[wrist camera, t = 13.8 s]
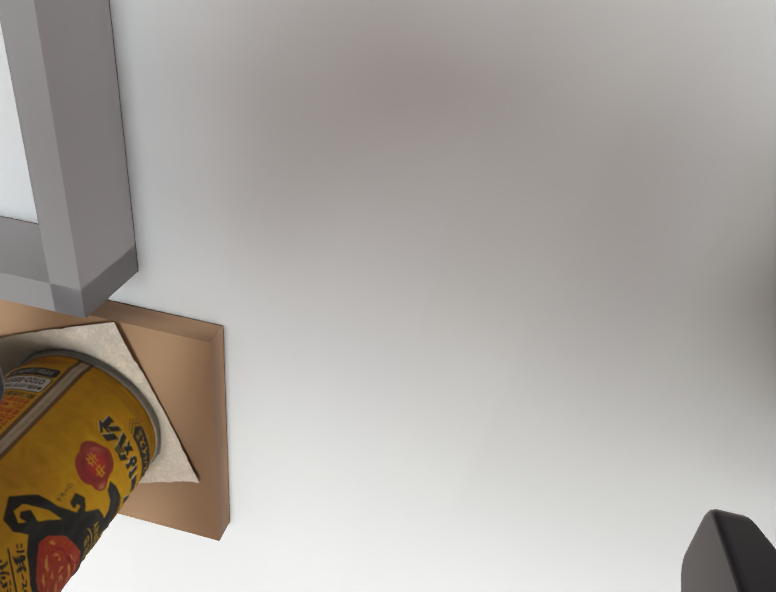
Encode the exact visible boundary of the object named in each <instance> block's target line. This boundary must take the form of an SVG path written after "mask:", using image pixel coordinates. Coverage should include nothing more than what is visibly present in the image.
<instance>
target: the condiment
mask: <svg viewBox="0 0 776 592" xmlns="http://www.w3.org/2000/svg"><path fill="white" fill-rule="evenodd" d="M0 368H1V372H2V376H3V380H4V384H5V391H4V396H3V399H2V401H1V403H0V592H61V590H62V589H63V588H64V586H65V585H66V583H67V582H68V581H69V579H70V578H71V577H72V576H73V575H74V574H75V573H76V572H77V570H78V569H79V567H80V564H81V562H82V561H83V560H84V559H85V557H86V555H87V554H88V553H89V551H90V550H91V549H92V548H93V547H94V545H95V544H96V542H97V541H98V540H99V538H100V537H101V535H102V533H103V531H104V530H105V529H106V528H107V527H108V525H109V523H110V522H111V521H112V520H113V519H114V517H115V516H116V515H117V513H118V512H119V510H120V509H121V508H122V507H123V505H124V503H125V501H126V500H127V499H128V497H129V495H130V494H131V493H132V492H133V491H134V489H135V487H136V486H137V485H138V483H153V482H168V483H169V482H175V481H179V482H181V481H185V482H196V483H199V482H198V479H197V477H196V475H195V473H194V472H193V469H192V468H191V466H190V464H189V462H188V460H187V456H186V454H185V453H184V452H183V450H182V448H181V445H180V442H179V440H178V438H177V437H176V434H175V432H174V430H173V429H172V427H171V425H170V423H169V421H168V418H167V416H166V415H165V413H164V411H163V409H162V407H161V406H160V404H159V402H158V401H157V399H156V397H155V394H154V393H153V391H152V390H151V388H150V385H149V383H148V382H147V380H146V378H145V376H144V374H143V373H142V371H141V370H140V369H139V367H138V364H137V363H136V362H135V361H134V360H133V358H132V356H131V354H130V352H129V350H128V348H127V346H126V345H125V343H124V341H123V339H122V337H121V335H120V333H119V331H118V329H117V327H116V325H115V323H114V322H110V323H103V324H93V325H85V326H75V327H68V328H64V329H51V330H43V331H39V332H36V333H35V332H30V333H25V334H20V335H12V336H8V337H4V338H0Z"/></svg>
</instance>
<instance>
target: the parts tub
mask: <svg viewBox="0 0 776 592" xmlns="http://www.w3.org/2000/svg"><path fill="white" fill-rule="evenodd" d="M0 22H1V27H2V32H3V37H4V43H5V48H6V53H7V59H8V64H9V69H10V74H11V80H12V85H13V90H14V96H15V101H16V106H17V111H18V117H19V122H20V127H21V133H22V138H23V143H24V148H25V154H26V159H27V164H28V170H29V175H30V180H31V186H32V191H33V196H34V201H35V207H36V212H37V217H38V223H39V224H34V223H30V222H25V221H20V220H15V219H11V218H6V217H1V216H0V299H3V300H7V301H11V302H16V303H20V304H24V305H29V306H33V307H38V308H42V309H46V310H51V311H55V312H59V313H64V314H68V315H72V316H77V317H81V318H87V317H88V316H89V315H90V314H91V313H92V312H93V311H94V310H95V309H96V308H98V307H99V306H100V305H101V304H102V303H103V302H104V301H105V300H106V299H108V298H109V297H110V296H111V295H112V294H113V293H114V292H115V291H116V290H118V289H119V288H120V287H121V286H122V285H123V284H124V283H125V282H126V281H127V280H129V279H130V278H131V277H132V276H133V275H134V274H135V273H136V272H137V271H138V266H137V257H136V248H135V238H134V229H133V220H132V211H131V201H130V192H129V183H128V174H127V164H126V155H125V146H124V137H123V128H122V118H121V109H120V100H119V91H118V81H117V72H116V63H115V54H114V44H113V35H112V26H111V17H110V8H109V0H0Z"/></svg>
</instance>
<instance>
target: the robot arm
mask: <svg viewBox="0 0 776 592" xmlns="http://www.w3.org/2000/svg"><path fill="white" fill-rule="evenodd" d="M4 391H5V384H4V380H3V376H2V372H1V368H0V403H1V401H2V399H3V396H4ZM681 592H776V549H775V548H774V546H773V545H772V544H771V543H770V541H769V540H768V539H767V538H766V537H765V535H764V534H763V533H762V532H761V530H760V529H759V528H758V527H757V525H756V524H755V523H754V522H753V521H752V520H751V519H749V518H748V517H745V516H743V515H738V514H734V513H730V512H726V511H722V510H717V509H714V510H710V511H709V512H707V513H706V515H705V516H704V518H703V520H702V522H701V524H700V526H699V527H698V529H697V531H696V533H695V535H694V537H693V539H692V541H691V543H690V545H689V547H688V549H687V551H686V553H685V556H684V559H683V563H682V570H681Z"/></svg>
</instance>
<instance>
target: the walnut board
mask: <svg viewBox="0 0 776 592" xmlns="http://www.w3.org/2000/svg"><path fill="white" fill-rule="evenodd" d="M110 322H114V323H115V325H116V327H117V329H118V331H119V333H120V335H121V337H122V339H123V341H124V343H125V345H126V346H127V348H128V350H129V352H130V354H131V356H132V358H133V360H134V361H135V362H136V363H137V364H138V367H139V369H140V370H141V371H142V373H143V374H144V376H145V378H146V380H147V382H148V383H149V385H150V388H151V390H152V391H153V393H154V394H155V397H156V399H157V401H158V402H159V404H160V406H161V407H162V409H163V411H164V413H165V415H166V416H167V418H168V421H169V423H170V425H171V427H172V429H173V430H174V432H175V434H176V437H177V438H178V440H179V442H180V445H181V448H182V450H183V452H184V453H185V454H186V456H187V460H188V462H189V464H190V466H191V468H192V469H193V472H194V473H195V475H196V477H197V479H198V482H199V483H196V482H185V481H181V482H179V481H175V482H169V483H168V482H153V483H138V485H137V486H136V487H135V489H134V491H133V492H132V493H131V494H130V495H129V497H128V499H127V500H126V501H125V503H124V505H123V507H122V508H121V509H120V510H119V512H118V513H119V514H122V515H126V516H130V517H134V518H137V519H141V520H145V521H148V522H152V523H156V524H159V525H163V526H167V527H170V528H174V529H178V530H182V531H185V532H189V533H193V534H196V535H200V536H204V537H207V538H211V539H215V540H218V541H220V539H221V537H222V535H223V533H224V531H225V529H226V528H227V526H228V524H229V522H230V517H229V488H228V459H227V429H226V400H225V371H224V342H223V326H220V325H215V324H211V323H206V322H202V321H197V320H193V319H189V318H184V317H180V316H175V315H171V314H166V313H162V312H157V311H153V310H148V309H144V308H140V307H135V306H131V305H126V304H122V303H117V302H113V301H108V300H105V301H104V302H103V303H102V304H101V305H100V306H99V307H98V308H96V309H95V310H94V311H93V312H92V313H91V314H90V315H89V316H88V317H87V318H81V317H77V316H72V315H68V314H64V313H59V312H55V311H51V310H46V309H42V308H38V307H33V306H29V305H24V304H20V303H16V302H11V301H7V300H3V299H0V338H4V337H8V336H12V335H20V334H25V333H30V332H35V333H36V332H39V331H43V330H51V329H64V328H68V327H75V326H85V325H93V324H103V323H110Z"/></svg>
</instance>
